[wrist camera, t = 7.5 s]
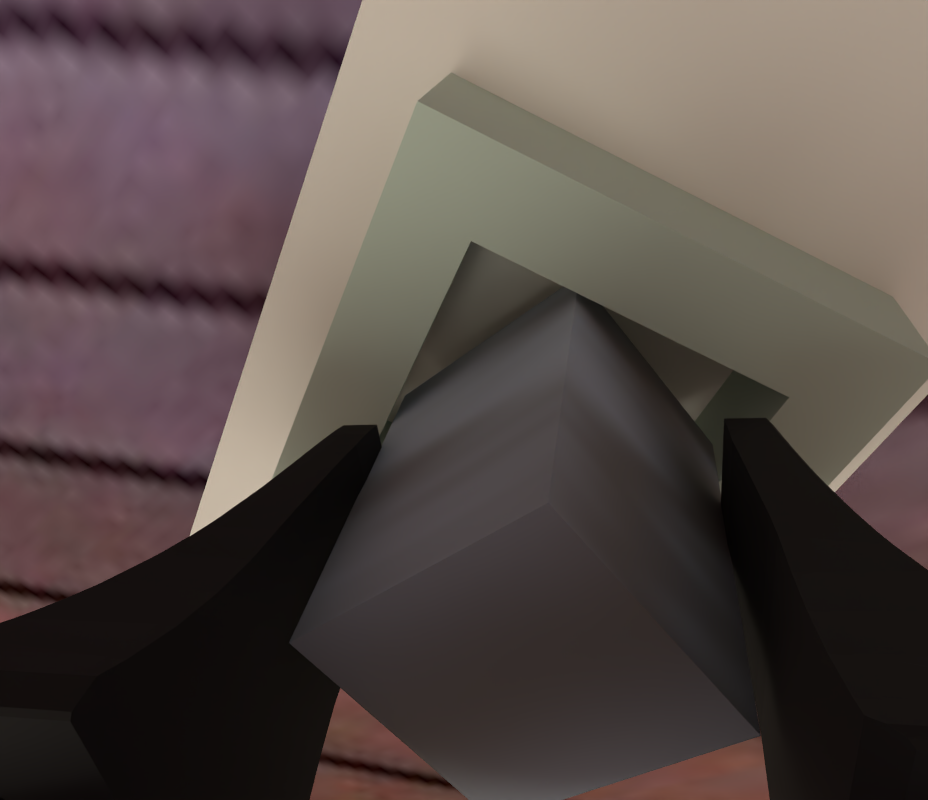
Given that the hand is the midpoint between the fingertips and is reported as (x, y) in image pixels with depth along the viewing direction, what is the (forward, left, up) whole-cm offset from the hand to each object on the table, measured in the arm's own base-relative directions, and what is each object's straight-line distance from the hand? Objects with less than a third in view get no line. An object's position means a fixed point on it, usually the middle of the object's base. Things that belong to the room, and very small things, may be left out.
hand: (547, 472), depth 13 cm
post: (0, 0, -2) cm, 2 cm away
